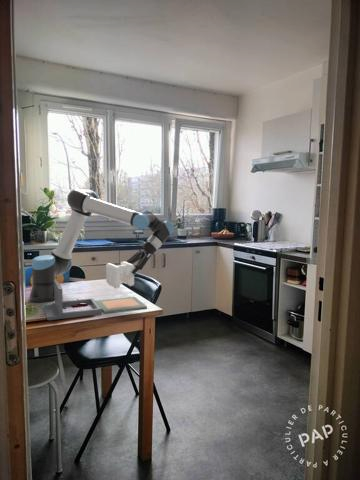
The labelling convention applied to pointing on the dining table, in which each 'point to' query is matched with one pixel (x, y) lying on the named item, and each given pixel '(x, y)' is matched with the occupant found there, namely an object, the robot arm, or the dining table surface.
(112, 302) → the plate
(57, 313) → the grey tray holder
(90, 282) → the dining table surface
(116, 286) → the cable organizer
